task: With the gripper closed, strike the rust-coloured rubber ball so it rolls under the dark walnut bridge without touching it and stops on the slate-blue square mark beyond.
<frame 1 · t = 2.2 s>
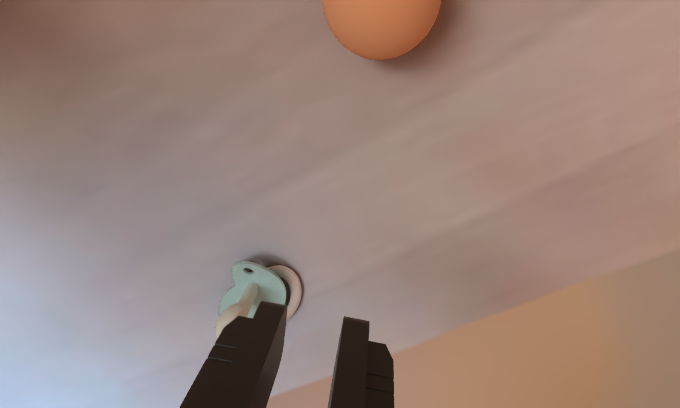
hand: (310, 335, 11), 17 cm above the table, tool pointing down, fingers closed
pacifier: (266, 287, 32), on the table
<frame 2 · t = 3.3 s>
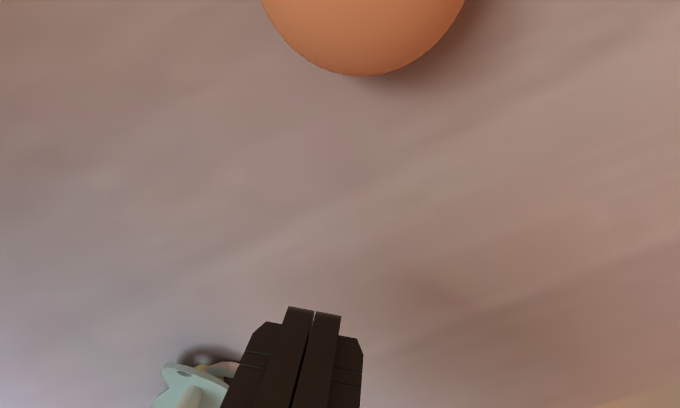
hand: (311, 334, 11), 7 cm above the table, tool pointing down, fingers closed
pacifier: (216, 385, 23), on the table
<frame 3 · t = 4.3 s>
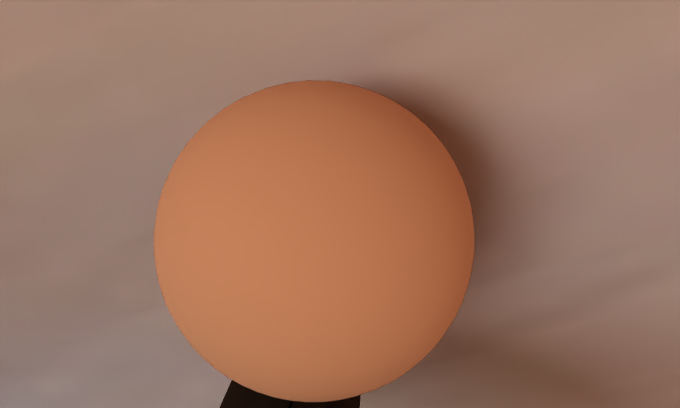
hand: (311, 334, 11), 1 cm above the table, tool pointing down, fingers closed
ball: (317, 235, 8), on the table, touching gripper
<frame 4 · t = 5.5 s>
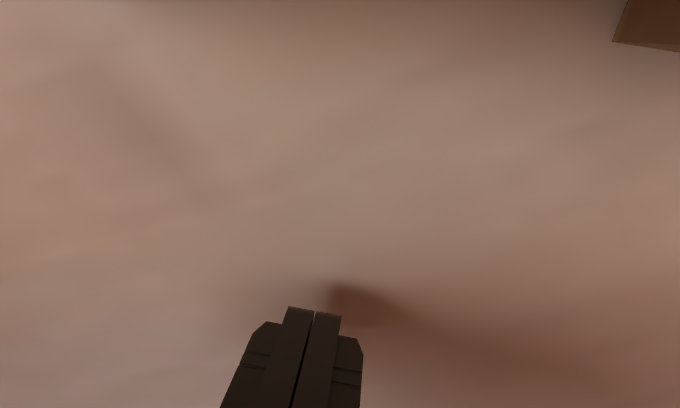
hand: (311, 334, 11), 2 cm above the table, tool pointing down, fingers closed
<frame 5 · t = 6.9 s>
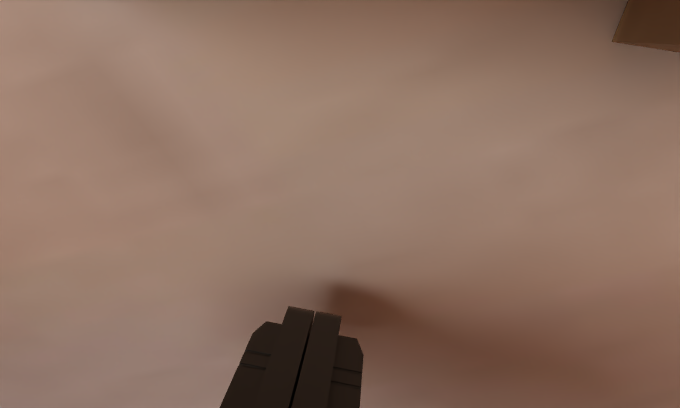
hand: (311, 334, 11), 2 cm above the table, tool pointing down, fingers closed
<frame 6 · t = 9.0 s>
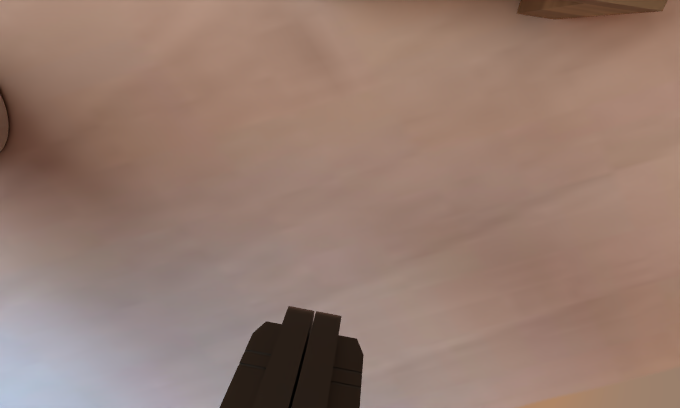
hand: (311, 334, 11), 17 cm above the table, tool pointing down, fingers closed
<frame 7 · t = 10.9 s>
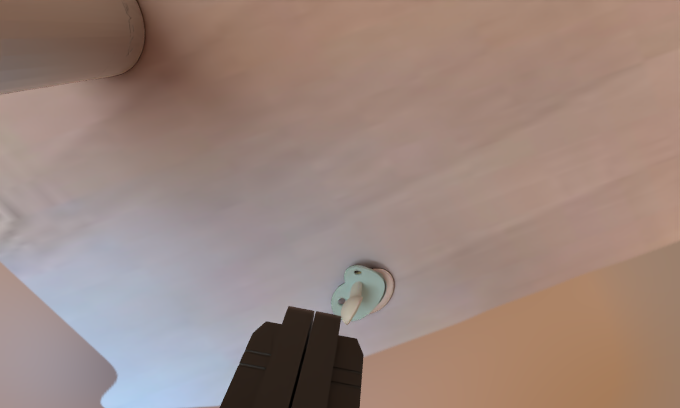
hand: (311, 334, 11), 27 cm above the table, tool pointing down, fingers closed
pacifier: (365, 285, 43), on the table
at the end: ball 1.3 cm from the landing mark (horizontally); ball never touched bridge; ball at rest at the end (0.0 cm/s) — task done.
